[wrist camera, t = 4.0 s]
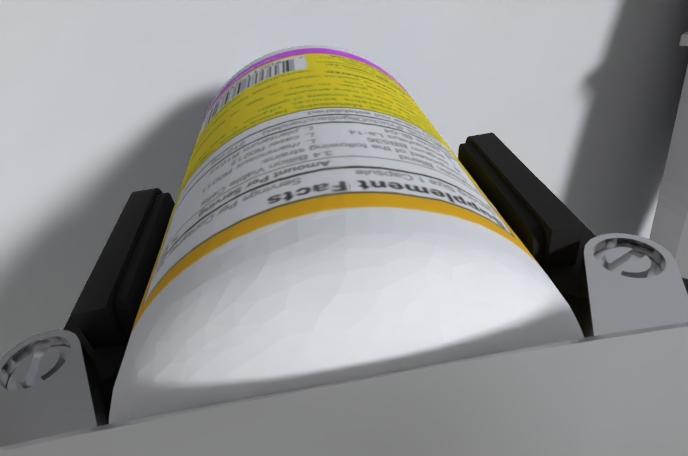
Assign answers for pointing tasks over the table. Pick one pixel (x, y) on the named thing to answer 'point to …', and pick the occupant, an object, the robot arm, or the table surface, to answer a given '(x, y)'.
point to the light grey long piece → (675, 188)
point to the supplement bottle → (325, 247)
